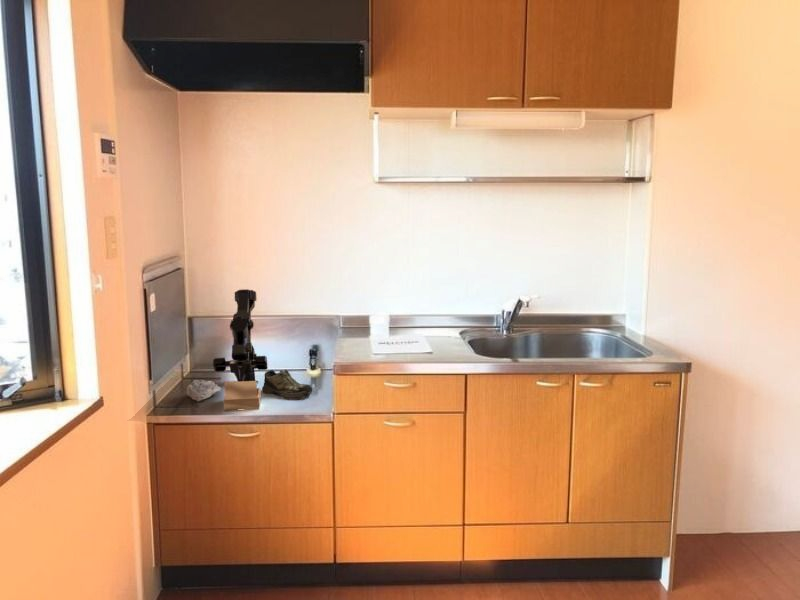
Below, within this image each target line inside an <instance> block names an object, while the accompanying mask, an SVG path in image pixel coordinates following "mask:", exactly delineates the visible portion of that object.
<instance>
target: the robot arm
mask: <svg viewBox="0 0 800 600" xmlns="http://www.w3.org/2000/svg"><path fill="white" fill-rule="evenodd" d="M257 300H258V299H257V291H255V290H254V289H249V288H247V289H239V290H238V289H237V290H236V291H234V302H235V303H236V305H237V308H236V312H235V313H234V314H233V316H232V320H230V324H229V328H230V330H231V335H232V339H233V343H232V345H231V359H230V360H226V357H224V356H223V357H222V356H221V357H220V356H219V357H214V358H213V359H212V366H213V369H214V372H216V373H218V372H219V373H220V372H225V371H226V370H227V368H228V367H229V369H230V373H231V374H234V376H235V378H236V380H237V381H235V382H242V381H257V384H258V383H259V381H258V380H256V371H255V370H258V371H262V370H266V371H267V370H268V357H267V356H266V355H258V354H257V353H256V351H255V348H254V346H253V343H252V330H253V329H254V326H255V322H254V321H253V319H252V311H253V310H254V309H255V306H256V302H257Z"/></svg>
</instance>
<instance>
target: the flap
mask: <svg viewBox="0 0 800 600" xmlns="http://www.w3.org/2000/svg"><path fill="white" fill-rule="evenodd" d="M257 381H258V380H256V381H242V382H236V381H225V382H224V397H225V400H230V399H250V398H257V388H258V387H257V384H258V383H257Z"/></svg>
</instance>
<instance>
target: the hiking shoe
mask: <svg viewBox="0 0 800 600" xmlns="http://www.w3.org/2000/svg"><path fill="white" fill-rule="evenodd" d="M261 390H262V391H261V392H262V393H263V394H265V393H266V395H270V394H275V395H276V396H280V397H281V398H282V397H283V398H282V399H285V398H286V400H303V399H304V398H305V399H308V398H309V397H310V395H312V392H313V391H314V390H313V387H312V386H311V384H305V383H300V382H298V381H297V380H296V379H294V377H292V375H291V373H290V372H289V370H288V369H283V370H279V372H275V370H273V369H271V370H268V371H267V370H266V371H265V373H264V379H263V386H262V388H261Z"/></svg>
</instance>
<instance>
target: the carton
mask: <svg viewBox="0 0 800 600" xmlns="http://www.w3.org/2000/svg"><path fill="white" fill-rule="evenodd" d="M261 390H262V388H261V387H257V398H250V399H230V400H225V396H224V398H223V411H224V410H235V411H239V410H238V409H254V410H260V408H259V407H260V406H261V402H262V391H261ZM260 401H261V402H260Z"/></svg>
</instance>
